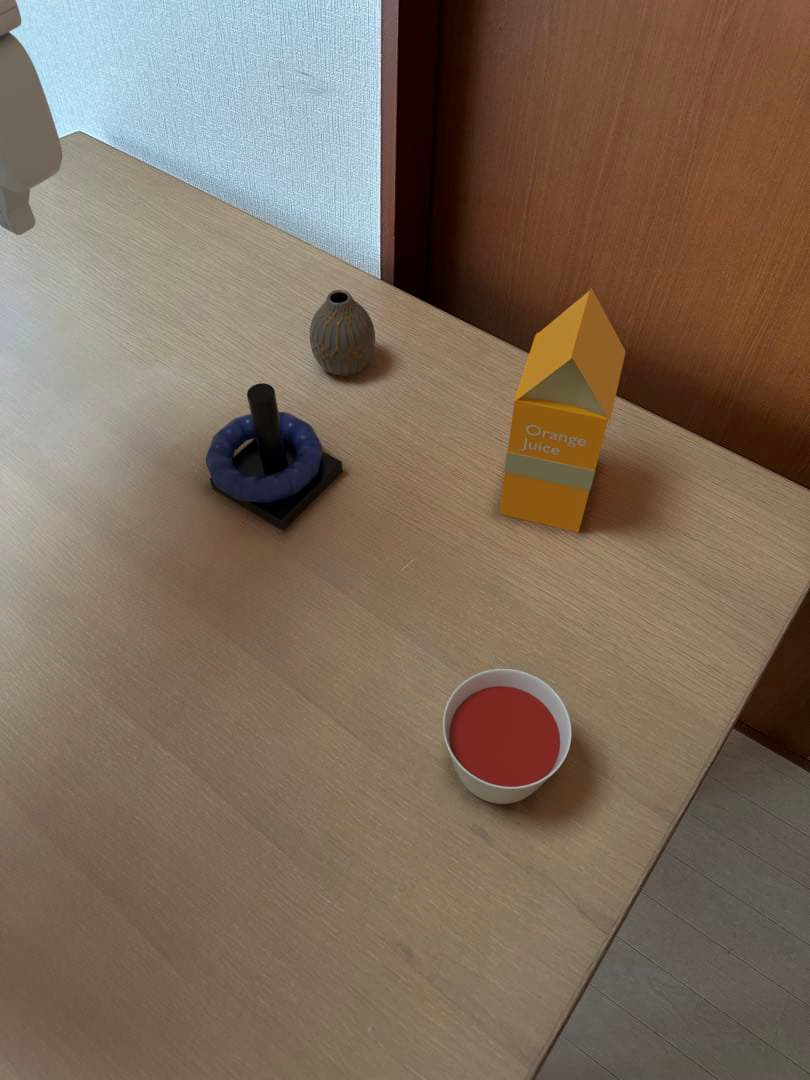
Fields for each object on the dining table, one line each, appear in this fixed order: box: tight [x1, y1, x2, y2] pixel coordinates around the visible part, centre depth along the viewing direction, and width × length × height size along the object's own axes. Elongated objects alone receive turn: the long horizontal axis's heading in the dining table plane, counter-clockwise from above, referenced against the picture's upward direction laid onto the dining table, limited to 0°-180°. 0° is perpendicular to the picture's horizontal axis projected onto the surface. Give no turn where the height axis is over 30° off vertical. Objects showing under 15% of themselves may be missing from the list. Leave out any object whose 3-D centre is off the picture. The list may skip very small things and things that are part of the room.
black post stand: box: [209, 382, 344, 532], centre depth 76 cm, size 9×9×12 cm
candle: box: [442, 668, 572, 805], centre depth 61 cm, size 9×9×6 cm
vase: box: [309, 289, 376, 377], centre depth 87 cm, size 7×7×9 cm
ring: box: [204, 411, 324, 503], centre depth 79 cm, size 11×11×2 cm
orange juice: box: [499, 287, 626, 533], centre depth 72 cm, size 8×9×20 cm
